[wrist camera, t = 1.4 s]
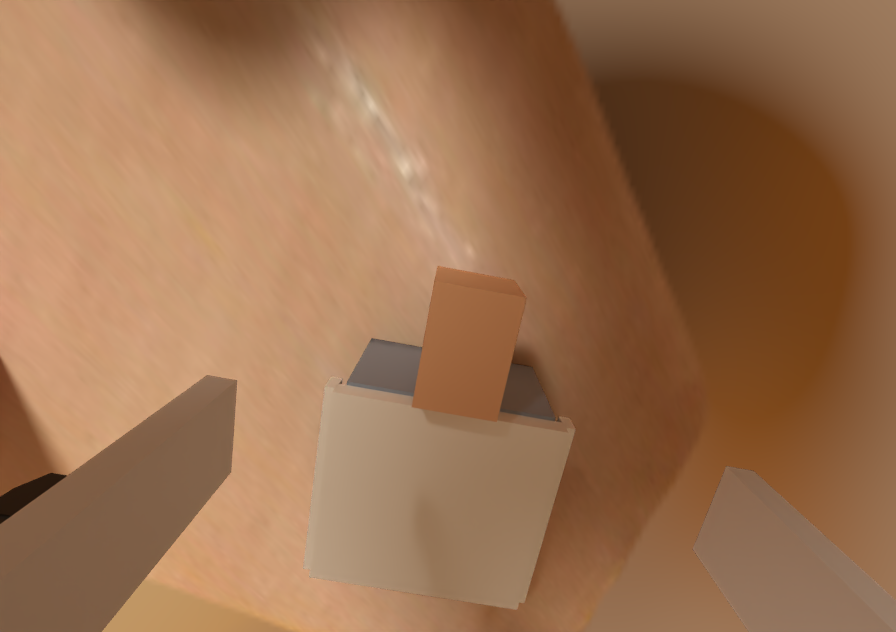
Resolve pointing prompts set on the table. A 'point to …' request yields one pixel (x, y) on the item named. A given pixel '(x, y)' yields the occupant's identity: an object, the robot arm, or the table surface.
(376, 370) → the tub
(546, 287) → the table surface
